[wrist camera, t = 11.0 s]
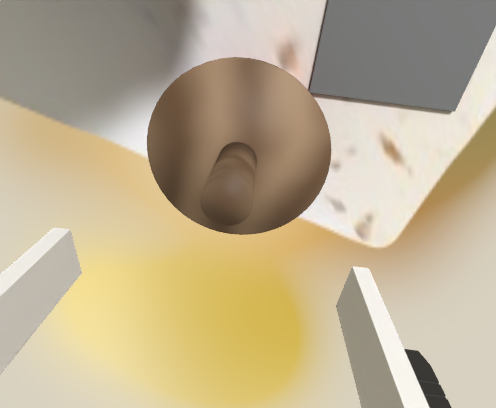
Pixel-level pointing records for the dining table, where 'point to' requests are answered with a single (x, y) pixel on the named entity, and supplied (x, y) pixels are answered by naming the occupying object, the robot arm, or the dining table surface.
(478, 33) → the mat
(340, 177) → the dining table surface
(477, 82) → the dining table surface
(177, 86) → the lid
